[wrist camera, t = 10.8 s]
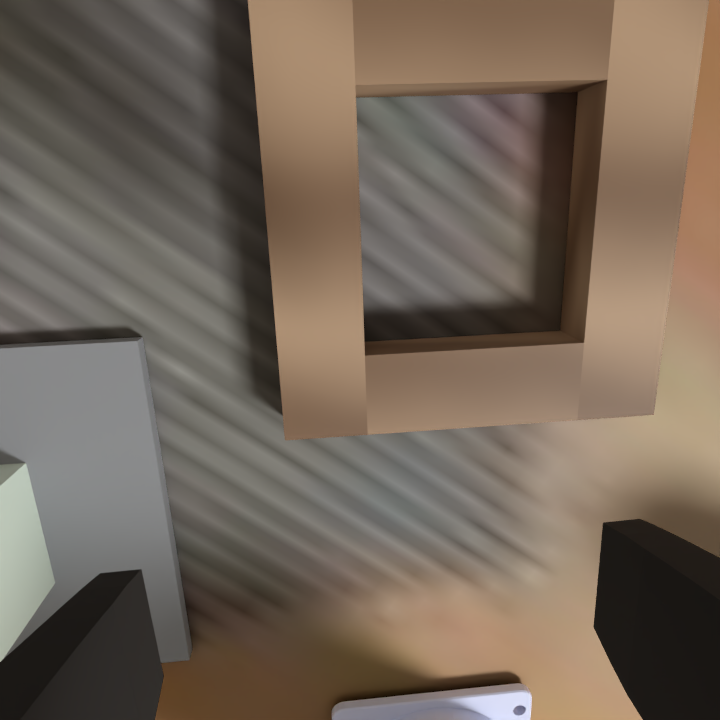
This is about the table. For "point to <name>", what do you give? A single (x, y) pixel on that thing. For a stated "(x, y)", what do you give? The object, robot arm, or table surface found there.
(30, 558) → the sage link block
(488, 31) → the wooden square frame
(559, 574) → the table surface
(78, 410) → the charcoal mat
